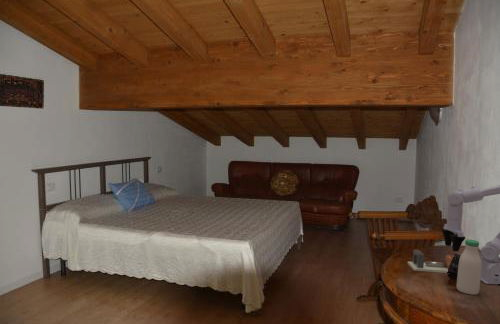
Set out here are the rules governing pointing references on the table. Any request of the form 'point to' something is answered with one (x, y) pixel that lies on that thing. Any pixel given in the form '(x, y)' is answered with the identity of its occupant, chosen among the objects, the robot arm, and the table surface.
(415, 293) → the table surface
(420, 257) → the eye post
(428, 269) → the board
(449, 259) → the hook rod
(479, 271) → the milk bottle
